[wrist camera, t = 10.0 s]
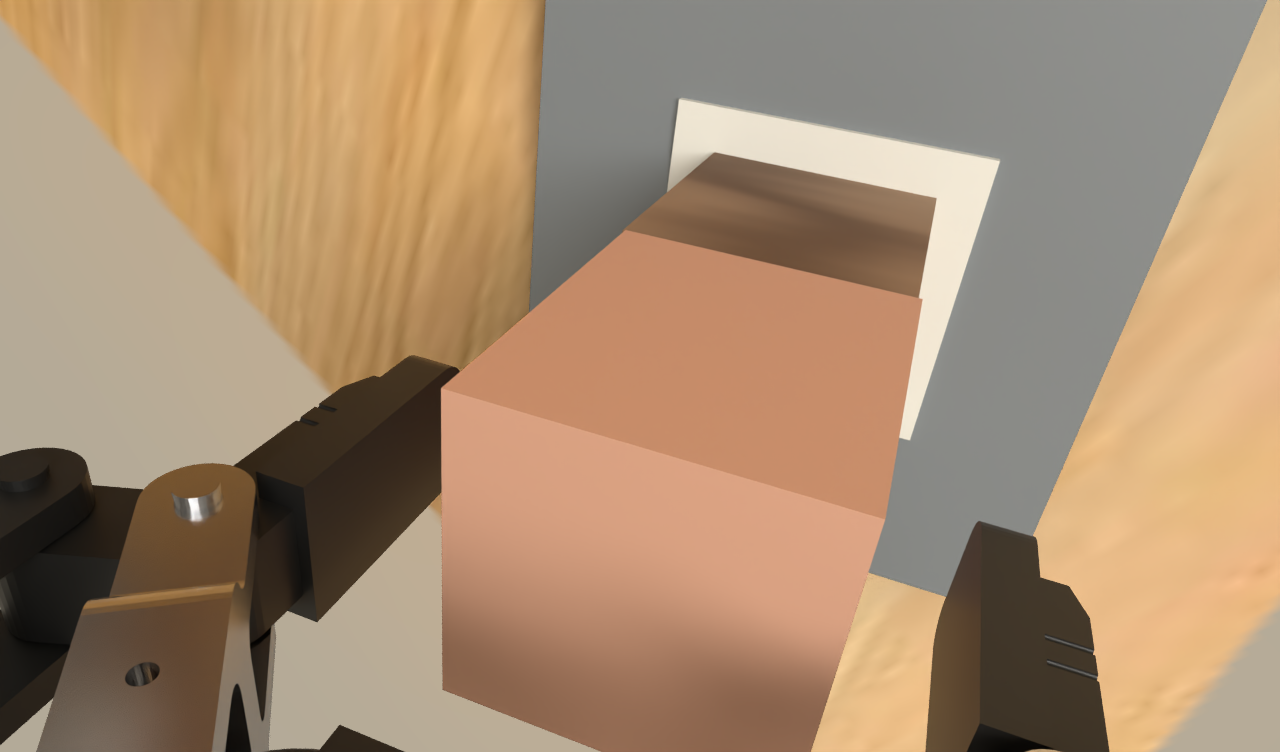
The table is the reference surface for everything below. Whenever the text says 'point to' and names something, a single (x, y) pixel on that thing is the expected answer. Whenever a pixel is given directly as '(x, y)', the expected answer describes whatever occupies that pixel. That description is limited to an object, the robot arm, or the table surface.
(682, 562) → the terracotta block
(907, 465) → the building board
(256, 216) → the table surface
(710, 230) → the walnut block
